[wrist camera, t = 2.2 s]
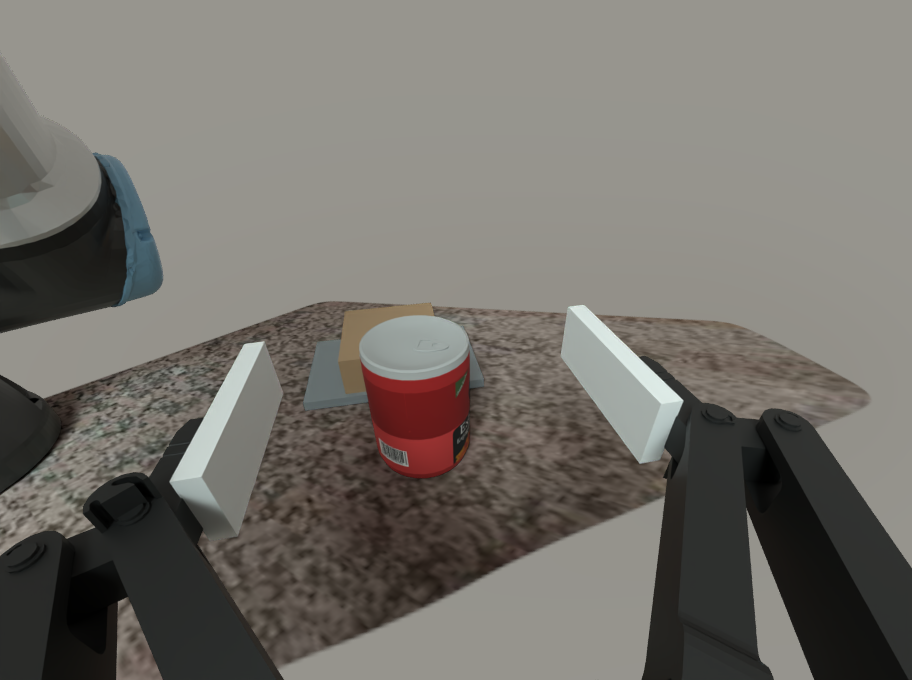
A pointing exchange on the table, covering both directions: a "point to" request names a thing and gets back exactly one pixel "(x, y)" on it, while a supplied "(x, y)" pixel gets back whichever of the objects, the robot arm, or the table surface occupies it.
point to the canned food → (418, 392)
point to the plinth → (333, 382)
